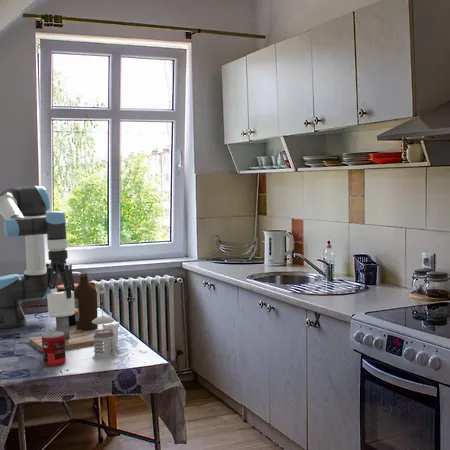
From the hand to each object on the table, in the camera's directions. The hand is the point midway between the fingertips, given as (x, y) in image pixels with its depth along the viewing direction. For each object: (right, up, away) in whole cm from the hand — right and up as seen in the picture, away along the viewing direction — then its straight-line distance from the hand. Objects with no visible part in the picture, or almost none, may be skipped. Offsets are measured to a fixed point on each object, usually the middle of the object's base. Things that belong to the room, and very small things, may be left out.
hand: (61, 305), depth 264 cm
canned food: (+5, -18, -28) cm, 34 cm away
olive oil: (+5, -14, +27) cm, 31 cm away
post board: (+1, -16, +1) cm, 16 cm away
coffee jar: (-5, -13, +39) cm, 41 cm away
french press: (+23, -17, -23) cm, 36 cm away
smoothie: (+22, -16, -9) cm, 29 cm away
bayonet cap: (0, -4, 0) cm, 4 cm away
